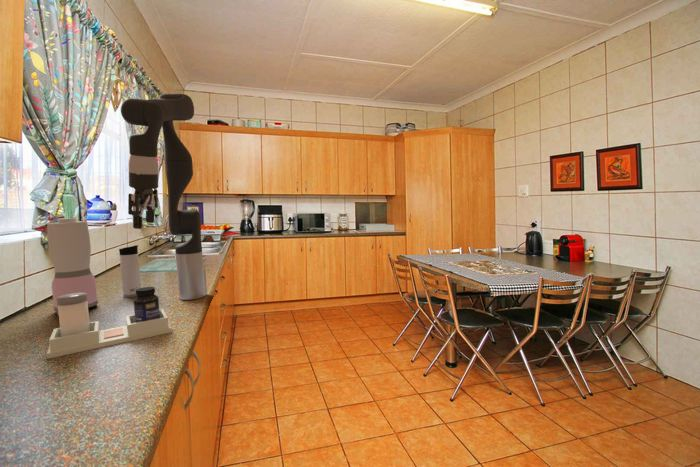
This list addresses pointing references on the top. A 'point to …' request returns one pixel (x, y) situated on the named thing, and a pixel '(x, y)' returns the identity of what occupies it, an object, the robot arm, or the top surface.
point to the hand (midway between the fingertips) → (144, 225)
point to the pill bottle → (146, 304)
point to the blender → (71, 259)
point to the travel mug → (130, 270)
